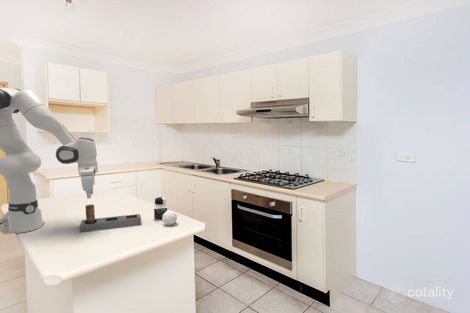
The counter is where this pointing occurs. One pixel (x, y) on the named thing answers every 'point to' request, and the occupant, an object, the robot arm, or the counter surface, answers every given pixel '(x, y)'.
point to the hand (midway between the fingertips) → (90, 196)
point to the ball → (169, 217)
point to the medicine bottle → (159, 208)
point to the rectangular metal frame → (111, 222)
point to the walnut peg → (90, 214)
